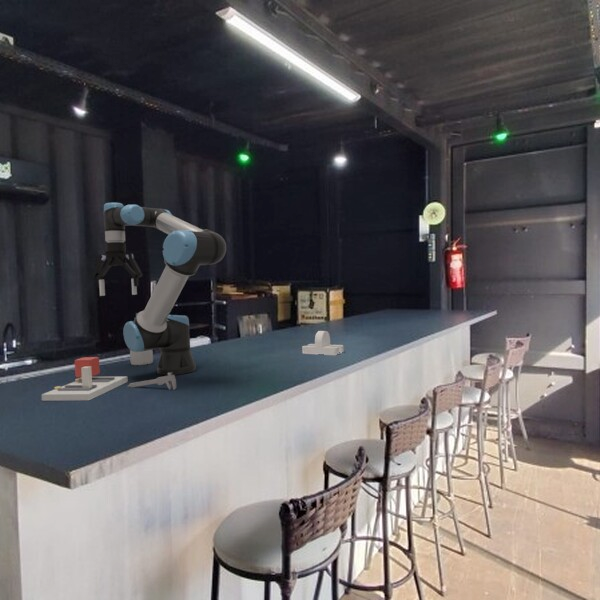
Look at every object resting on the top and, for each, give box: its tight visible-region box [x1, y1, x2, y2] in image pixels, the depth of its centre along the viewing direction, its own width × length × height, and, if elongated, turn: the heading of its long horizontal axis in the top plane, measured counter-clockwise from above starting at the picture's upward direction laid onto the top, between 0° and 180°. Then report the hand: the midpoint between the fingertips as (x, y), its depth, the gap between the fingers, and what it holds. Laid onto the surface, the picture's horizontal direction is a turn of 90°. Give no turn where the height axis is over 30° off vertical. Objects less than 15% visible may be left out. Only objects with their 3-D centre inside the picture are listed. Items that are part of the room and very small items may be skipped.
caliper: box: [126, 372, 177, 391], centre depth 163 cm, size 20×1×6 cm, turn 68°
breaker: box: [81, 366, 93, 388], centre depth 156 cm, size 2×2×7 cm
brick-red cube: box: [74, 356, 101, 378], centre depth 169 cm, size 6×6×6 cm
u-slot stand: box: [301, 330, 344, 356], centre depth 224 cm, size 10×18×11 cm, turn 63°
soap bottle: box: [129, 312, 154, 366], centre depth 211 cm, size 10×10×23 cm
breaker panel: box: [41, 376, 129, 402], centre depth 163 cm, size 16×26×3 cm, turn 174°
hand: (118, 295), depth 190 cm, fingers open, 13 cm apart
